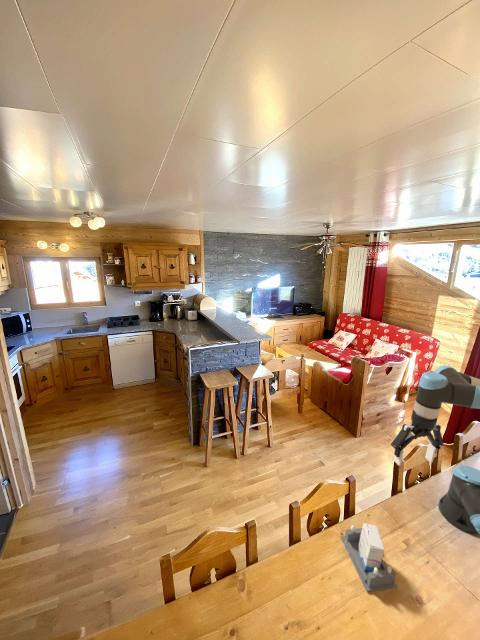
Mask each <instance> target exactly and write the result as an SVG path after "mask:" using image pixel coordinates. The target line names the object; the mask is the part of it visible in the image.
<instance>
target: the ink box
mask: <svg viewBox="0 0 480 640" xmlns="http://www.w3.org/2000/svg"><path fill="white" fill-rule="evenodd" d="M361 528H362V531H361V535H360V540H359V544H358V549H359V553H360V557H361V561H362V564H363V568H364V571H365V572H374V568H375V567H376V568H378V571H379V568H380V564H381V561H382V559H383V558H384V552H385V547H384V544H383V541H382V538H381V536H380V532H379V529H378V526H377V525H374V524H369V523H366V522H365V523H362V527H361Z"/></svg>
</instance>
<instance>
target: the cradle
mask: <svg viewBox="0 0 480 640" xmlns="http://www.w3.org/2000/svg"><path fill="white" fill-rule="evenodd" d="M355 527H356V526H355V525H353V524H352V525H351V526H350V528H349V529H346V530H345V533H344V534H345V535H344V536H341V537H340V539H341V542H342V543H343V546H344V547H345V549H346V551H347V553H348V557H349V558H350V559H351V562H352V564H353V566H354V568H355V570H356V572H357V574H358V576H359V578H360V580H361V584H363V587H364V589H365V591H366V593H372V592H379V591H383V590H389V589H395V588H398V584H397V583H396V581H395V579H396V573H395V571H394V569H393V567H392V566H391V565H390V564H389V565H387V564H386V563H385V561H384V559H383V558H382V561H381V564H380V568H379V571H378V568H376V567H375V568H374V572H365V571H364V568H363V564H362V561H361V557H360V553H359V549H358V544H359V540H360V535H361V531H362V527H359V528H358V527H356V528H355Z"/></svg>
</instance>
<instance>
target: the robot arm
mask: <svg viewBox="0 0 480 640" xmlns="http://www.w3.org/2000/svg"><path fill="white" fill-rule="evenodd" d="M414 400H415V401H414V404H413V407H412V408H413V410H412V412H411V417H410V419H411V424H410V425H408V424H406V423H404V424H403V425H402V427H401V430H400V431H399V432H398V433H397V435H396V437H395V438H394V439H393V440H392V442H391V443H390V446H392V448H393V449H394V453H393V454H394V459H393V461H394V462H395V464H396V465H397V466H399V467H401V465H402V461H403V457H404V453H405V450H404V449H405V448H407V446H409V444H410V443H412V441H414V440H417V439H418V438H427V439H428V440H429V442H430V443H428V445H427V449H426V453H425V455H424V458H425V459H426V460H427V461H428V462H429V463H431V464H432V463H433V462H434V459H435V454H436V453H437V451H438V450H441V448H442V447H444V440H443V437H442V432H441V429H442V426H441V425H440V424H438V423H437V422H438V418H439V416H440V411H441V408H442V405H443V403H444V404H448V405H454V406H459V407H463V408H470V409H478V410H480V378H477V377H474V376H471V375H468V374H466V373H463V372H460V371H458V370H457V369H456V368H454V367H452V366H450V365H440V366H438V367H437V368H436V369H435V370H434V371H425V372H423V373H422V375H421V377H420V378H419V382H418V388H417V392H416V396H415V399H414ZM438 510H439V512H440V514H441V515H442V517H443V518H444V519H445V520H446V521H448V523H450V524H451V525H452V526H454V527H456V528H457V529H459V530H460V531H463V532H465V533H468V534H472V535H478V534H479V535H480V470H479V469H477V468H476V467H475V468H474V467H473V466H468V465H464V464H463V465H462V464H460V465H457V466H455V468H454V470H453V472H452V477H451V480H450V483H449V487H448V490H447V492H446V493H445V494H444V495H443V496H442V497H441V498H440V499H439V502H438Z"/></svg>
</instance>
